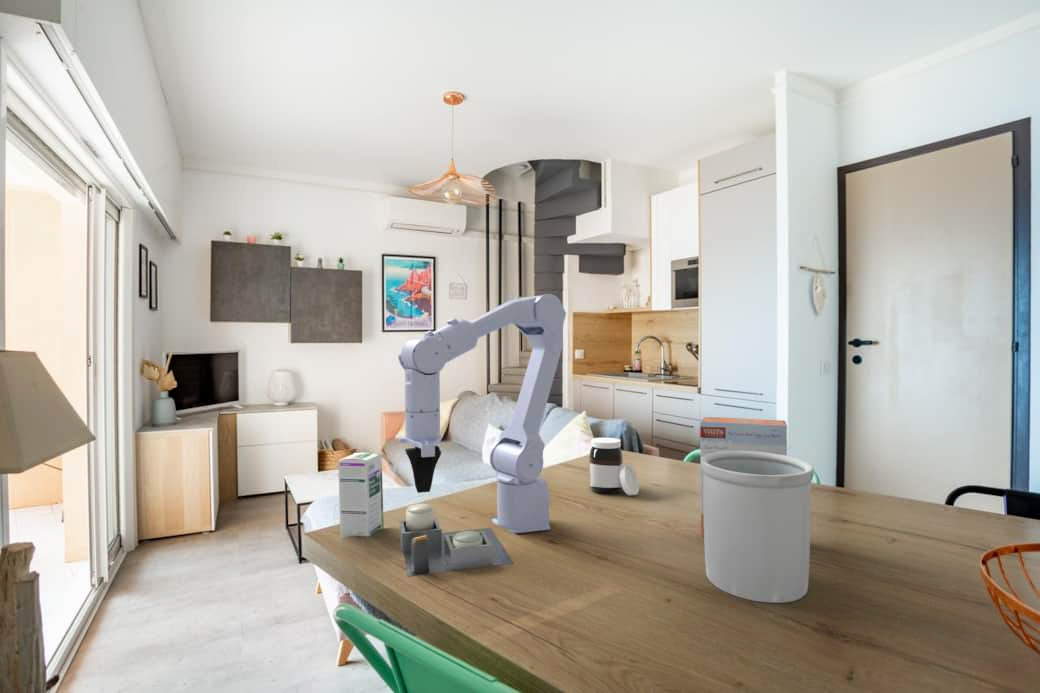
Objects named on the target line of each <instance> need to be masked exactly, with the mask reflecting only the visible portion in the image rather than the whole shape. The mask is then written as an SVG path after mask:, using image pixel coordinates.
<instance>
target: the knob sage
mask: <svg viewBox="0 0 1040 693" xmlns="http://www.w3.org/2000/svg"><path fill="white" fill-rule="evenodd" d="M462 531H463V532H459V533H457V534H456V535H455V536H454V537H453V547H454V548H460V547H468V546H477V545H482V536H481V535H480V533H478V532H475V531H465V530H462Z"/></svg>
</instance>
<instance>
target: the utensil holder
mask: <svg viewBox="0 0 1040 693" xmlns="http://www.w3.org/2000/svg"><path fill="white" fill-rule="evenodd" d="M701 469H702V471H703V506H704V536H703V542H704V543H703V544H704V559H705V560H704V562H705V574H706V576H707V579H708V580H709V582H710V583H711V584H712V585H713V586H714V587H716V588H718V589H719V590H720V591H723V592H725V593H727V594H729V595H732V596H734V597H737V598H740V599H744V600H747V601H748V600H749V601H752V602H753V601H754V602H759V603H770V604H771V603H772V604H774V603H775V604H783V603H791V602H794V601H798V600H800V599H803V597H804V596H805V595H806V594H808V590H809V578H810V577H809V576H810V553H811V552H810V550H811V546H810V545H811V505H812V504H811V503H812V502H811V499H812V498H811V497H812V496H811V495H812V481H813V478H814V475H815V474H814V471H815V470H814V466H813V465H812V464H810V463H809V462H807V461H805V460H803V459H801V458H796V457H793V456H789V455H787V456H786V455H780V454H774V453H766V452H755V451H722V452H714V453H709V454H706V455H704V456H703V457H702V458H701V466H700V470H701Z"/></svg>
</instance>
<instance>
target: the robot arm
mask: <svg viewBox="0 0 1040 693" xmlns="http://www.w3.org/2000/svg"><path fill="white" fill-rule="evenodd" d="M566 316H567V312H566V310H565V308H564V306H563V303H562V302H561V300H560V299H559V298H558V296H557V295H555V294H552V293H546V294H545V293H544V294H542V295H534V296H533V295H531V296H519V297H516V298H515V299H512V300H511V299H510V300H506V302H503V303H502V304H499V306H498V305H497V306H496V307H495V308H492V309H490V310H489V311H487V312H486V313H484V314H482V315H479V317H476V318H474V319H473V320H471V321H468V320H466V319H464V318H463V319H462V318H460V319H457V318H451V319H449V320H447V321H446V323H447V324H446V325H445V326H443V327H441V328H438V329H436V330H434V331H433V330H428V331H426V332H424V337H423V338H413V339H410V340H408V341H407V342H405V344H404V346H403V347H402V349H401V351H400V354H399V355H398V362H399V365H400V366H401V368H402V369H403V370H404V401H405V402H404V408H405V409H404V410H405V411H404V412H405V413H404V414H405V415H404V416H405V417H404V418H405V420H404V422H405V424H404V425H405V427H404V428H405V429H404V430H405V434H404V436H399V437H398V438H397V441H398V443H400V444H402V443H403V444H404V443H405V444H408V445H411V446H413V447H409V448H405V449H404V452H405V454H406V455H407V458H408V459H409V462H410V466H411V469H412V475H413V481H414V485H415V489H416V492H417V494H418V493H419V494H420V493H429V492H431V488H432V485H433V484H432V483H433V479H434V473H435V470H436V466H437V464H438V461H439V460H440V457H441V455H442V451H441V450H440V447H439V446H438V444H439V443H441V441H442V435H441V403H440V402H441V399H440V398H441V396H440V395H441V391H440V390H441V388H440V387H441V385H440V380H441V379H440V377H441V376H440V372H441V371H442V370H443V368H444V367H445V365H446V364H447V363H449V362H451V361H453V360H454V359H456V358H458V357H460V356H463V355H464V354H466V353H467V352H470V351H471V350H473V349H475V348H476V346H477V343H478V341H479V339H480V338H482V337H484V336H486V335H488V334H491V333H493V332H495V331H498V330H500V329H502V328H505V327H507V326H508V325H514V326H515V327H516V329H518V330H519V332H521V334H523V336H524V337H525V338H526V339H527V340H528V341H529V343H530V344H531V347H532V350H531V354H530V358H529V361H528V364H527V368H526V371H525V374H524V377H523V381H522V384H521V388H520V392H519V395H518V399H517V401H516V405H515V407H514V408H515V409H514V412H513V415H512V419H511V421H510V424H509V425H508V426H507V427H506V428H505V429H503V430H502V431H501V432H500V434H499V437H498V440H497V441H496V443H495V444H494V445H493V446H492V448H491V450H490V453H489V464H490V465H491V466H490V467H491V468H492V469H493V470H494V471H495V477H496V482H497V483H496V491H497V492H496V496H497V497H496V498H497V499H496V500H497V501H496V504H497V505H496V507H497V508H496V509H497V512H496V514H497V517H494V518H491V522H492V523H493V524H495V525H498V526H499V527H501V528H503V529H505V530H507V531H510V532H512V533H513V534H523V533H532V532H539V531H550V530H551V526H550V491H549V486H548V483H547V481H546V479H545V478H544V477H542V476H540V475H541V473H542V471H543V469H544V457H543V456H544V449H545V446H546V445H545V443H544V441H543V439H542V438H541V435H540V433H539V432H540V428H541V424H542V420H543V417H544V413H545V410H546V407H547V402H548V399H549V396H550V393H551V389H552V385H553V383H554V382H553V381H554V379H555V373H556V371H557V369H558V368H557V367H558V364H559V360H560V357H561V352H562V350H563V344H564V342H563V340H564V339H563V327H564V322H565V319H566ZM539 476H540V477H539Z"/></svg>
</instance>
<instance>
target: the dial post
mask: <svg viewBox="0 0 1040 693" xmlns="http://www.w3.org/2000/svg"><path fill="white" fill-rule="evenodd" d="M411 562H412V572H413V573H425V572H427V571H428V570H429V538H428V537H427V536H426V535H424V536H420V537H415V538H413V539H412V540H411Z"/></svg>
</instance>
